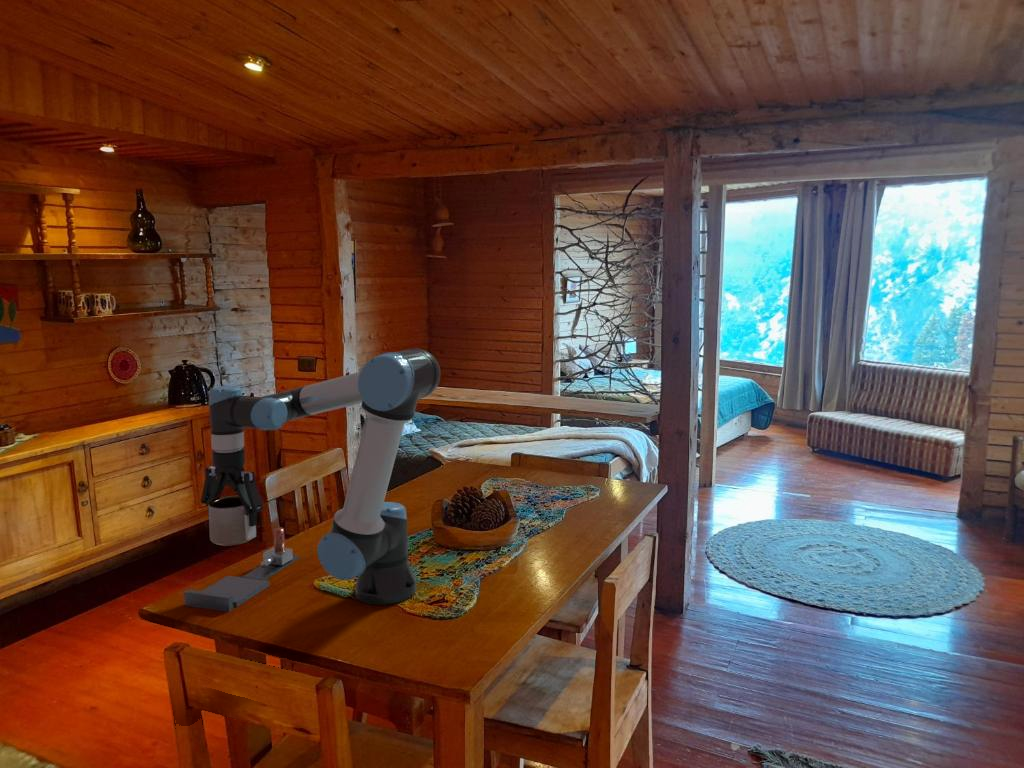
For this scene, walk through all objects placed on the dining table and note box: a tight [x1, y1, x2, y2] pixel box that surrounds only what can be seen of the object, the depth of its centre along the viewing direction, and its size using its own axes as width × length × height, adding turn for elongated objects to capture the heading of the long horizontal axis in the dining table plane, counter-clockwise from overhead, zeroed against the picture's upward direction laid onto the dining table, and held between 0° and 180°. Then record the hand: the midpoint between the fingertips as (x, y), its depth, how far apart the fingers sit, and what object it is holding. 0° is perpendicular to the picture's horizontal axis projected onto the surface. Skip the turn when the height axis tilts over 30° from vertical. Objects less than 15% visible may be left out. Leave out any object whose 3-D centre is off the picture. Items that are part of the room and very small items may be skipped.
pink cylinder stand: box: [260, 526, 294, 568], centre depth 201 cm, size 9×6×9 cm, turn 162°
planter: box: [207, 495, 257, 546], centre depth 182 cm, size 11×11×10 cm
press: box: [183, 555, 301, 613], centre depth 193 cm, size 34×13×4 cm, turn 162°
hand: (233, 534), depth 182 cm, fingers closed on planter, 11 cm apart
